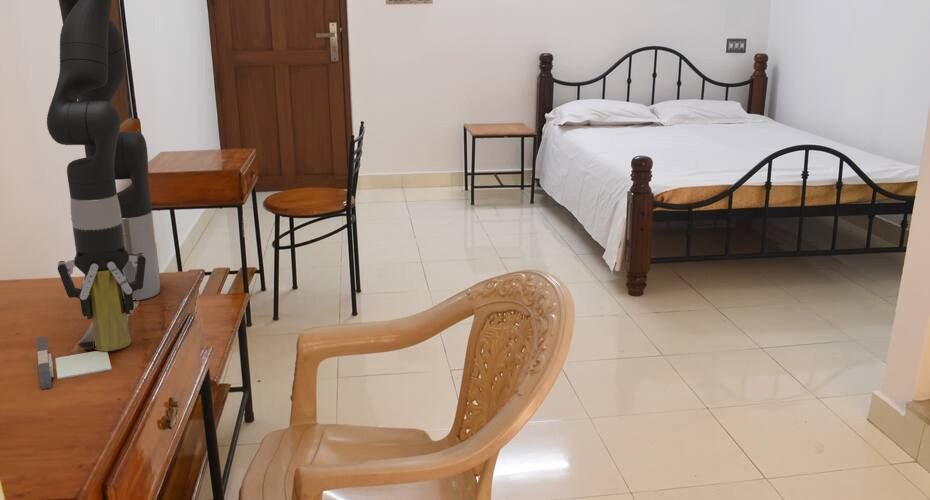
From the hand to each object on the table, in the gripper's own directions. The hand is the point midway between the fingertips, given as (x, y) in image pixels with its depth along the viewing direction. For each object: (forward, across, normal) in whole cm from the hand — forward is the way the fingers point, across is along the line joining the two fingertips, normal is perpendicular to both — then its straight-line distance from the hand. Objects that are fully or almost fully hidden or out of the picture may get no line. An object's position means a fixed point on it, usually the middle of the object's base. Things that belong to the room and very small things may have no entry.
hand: (109, 314), depth 138 cm
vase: (+6, 0, 0) cm, 6 cm away
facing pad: (+6, -5, -6) cm, 10 cm away
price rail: (+6, -10, -6) cm, 13 cm away
